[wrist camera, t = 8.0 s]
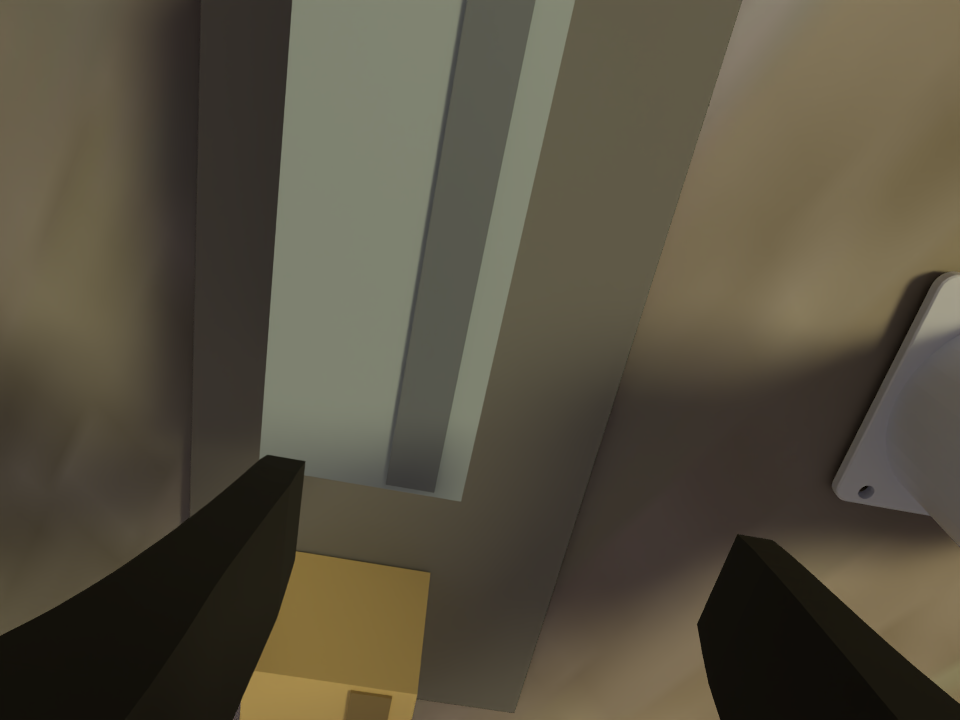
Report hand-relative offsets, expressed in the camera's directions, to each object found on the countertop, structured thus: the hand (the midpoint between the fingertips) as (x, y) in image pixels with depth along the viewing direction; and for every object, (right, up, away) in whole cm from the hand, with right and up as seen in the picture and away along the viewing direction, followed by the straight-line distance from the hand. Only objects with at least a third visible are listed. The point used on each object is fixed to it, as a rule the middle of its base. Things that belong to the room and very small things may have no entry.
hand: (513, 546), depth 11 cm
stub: (-5, -7, +14) cm, 17 cm away
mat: (-3, +2, +11) cm, 11 cm away
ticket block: (-2, +7, +8) cm, 11 cm away
